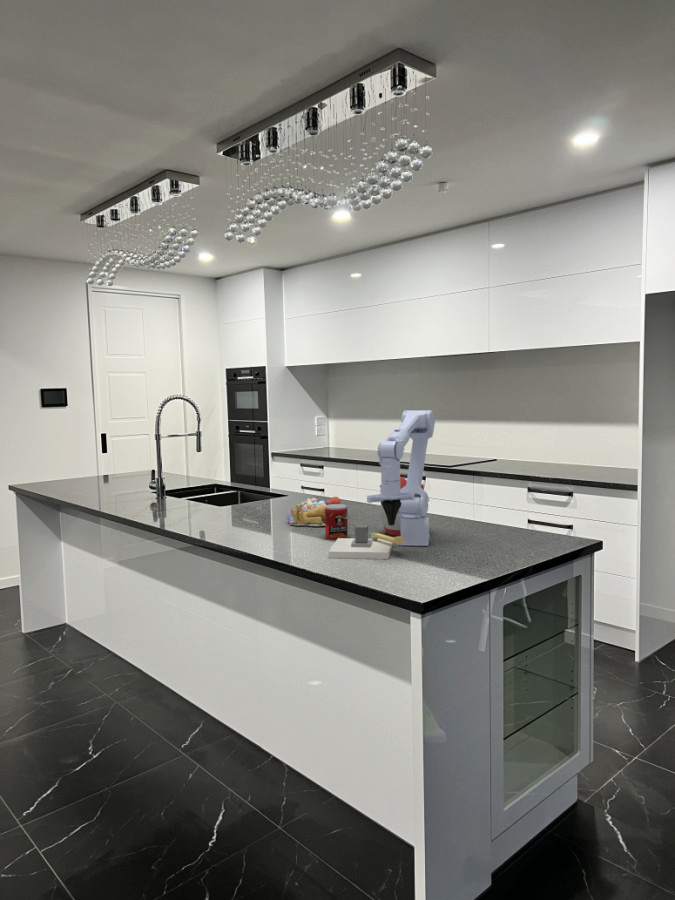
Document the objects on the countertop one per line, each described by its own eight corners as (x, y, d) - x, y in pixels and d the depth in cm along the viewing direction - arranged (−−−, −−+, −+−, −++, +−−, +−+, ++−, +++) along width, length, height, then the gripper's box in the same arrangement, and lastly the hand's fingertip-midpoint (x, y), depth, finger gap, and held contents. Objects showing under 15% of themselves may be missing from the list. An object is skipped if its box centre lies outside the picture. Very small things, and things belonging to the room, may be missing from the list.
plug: (372, 548, 212) (372, 524, 212) (370, 552, 207) (370, 528, 206) (353, 547, 213) (353, 524, 213) (351, 552, 207) (350, 528, 207)
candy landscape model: (347, 528, 247) (347, 503, 246) (283, 529, 248) (283, 504, 247) (347, 515, 272) (347, 493, 271) (289, 516, 273) (289, 493, 272)
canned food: (328, 540, 226) (328, 508, 225) (323, 536, 233) (322, 504, 232) (350, 539, 228) (350, 507, 227) (344, 534, 235) (343, 503, 234)
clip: (375, 538, 218) (374, 529, 217) (403, 547, 205) (403, 537, 205) (369, 539, 216) (369, 529, 216) (398, 548, 204) (398, 538, 204)
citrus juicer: (428, 539, 225) (428, 480, 224) (377, 537, 229) (376, 479, 227) (431, 529, 241) (431, 474, 239) (383, 528, 244) (382, 473, 242)
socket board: (392, 545, 217) (392, 539, 217) (388, 559, 200) (388, 552, 200) (337, 544, 220) (337, 538, 220) (328, 557, 203) (328, 551, 202)
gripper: (371, 483, 197) (371, 528, 198) (418, 480, 200) (418, 525, 201) (364, 480, 204) (365, 524, 205) (410, 477, 207) (410, 521, 208)
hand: (391, 524), depth 204 cm, fingers closed
